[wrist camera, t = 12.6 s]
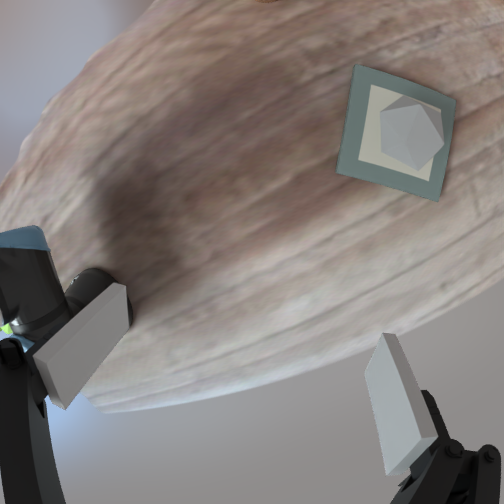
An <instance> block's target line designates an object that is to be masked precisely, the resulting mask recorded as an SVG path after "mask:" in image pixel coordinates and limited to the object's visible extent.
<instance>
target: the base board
mask: <svg viewBox="0 0 504 504" xmlns="http://www.w3.org/2000/svg"><path fill="white" fill-rule="evenodd" d="M403 95H404V96H407V97H409V98H411V99H413V100H415V101H418V102H420V103H422V104H424V105H426V106H428V107H430V108H432V109H434V110H436V111H438V112H440V113H441V119H442V126H443V134H444V145H443V147H442V148H441V149H440V150H439V151H438V152H437V153H436V154H435V155H434V156H433V157H432V158H431V159H430V160H429V161H428V162H427V163H426V164H425V165H424V166H423V167H422V168H421V169H420V170H419V171H417V170H415V169H413V168H412V167H410V166H408V165H406V164H404V163H402V162H400V161H398V160H396V159H394V158H392V157H390V156H388V155H386V154H384V153H382V152H381V125H380V111H382V110H383V109H385V108H386V107H388V106H389V105H390V104H392V103H393V102H395V101H396V100H397V99H399V98H400V97H402V96H403ZM455 108H456V100H454V99H452V98H450V97H448V96H445V95H443V94H441V93H439V92H436V91H434V90H432V89H429V88H427V87H424V86H422V85H419V84H416V83H414V82H411V81H408V80H406V79H403V78H400V77H397V76H394V75H391V74H388V73H385V72H382V71H379V70H375V69H372V68H369V67H365V66H362V65H358V64H355V66H354V67H353V73H352V80H351V87H350V93H349V100H348V106H347V112H346V117H345V123H344V129H343V134H342V140H341V145H340V150H339V155H338V160H337V165H336V170H335V172H336V173H338V174H342V175H346V176H350V177H354V178H358V179H362V180H366V181H369V182H373V183H377V184H380V185H384V186H387V187H391V188H394V189H398V190H401V191H404V192H408V193H411V194H414V195H417V196H420V197H423V198H427V199H430V200H433V201H436V202H438V201H439V197H440V193H441V188H442V184H443V180H444V175H445V170H446V166H447V161H448V155H449V150H450V144H451V138H452V131H453V124H454V116H455Z"/></svg>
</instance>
